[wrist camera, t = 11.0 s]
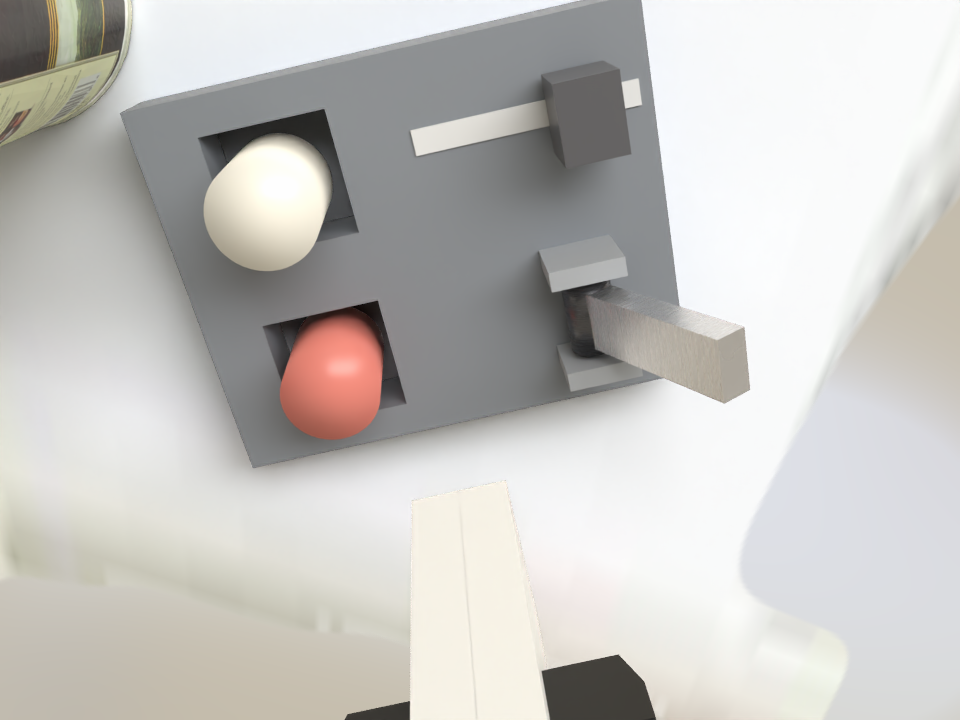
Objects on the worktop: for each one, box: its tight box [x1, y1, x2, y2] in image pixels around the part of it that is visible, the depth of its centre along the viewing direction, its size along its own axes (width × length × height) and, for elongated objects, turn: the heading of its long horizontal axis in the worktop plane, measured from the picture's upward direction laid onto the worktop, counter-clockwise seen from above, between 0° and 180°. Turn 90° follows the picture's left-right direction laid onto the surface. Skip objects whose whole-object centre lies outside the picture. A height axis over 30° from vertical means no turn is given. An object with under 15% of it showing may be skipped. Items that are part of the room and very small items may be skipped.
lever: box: [561, 280, 750, 404], centre depth 33 cm, size 2×3×9 cm, turn 11°
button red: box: [280, 307, 384, 440], centre depth 38 cm, size 4×4×5 cm
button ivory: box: [204, 133, 333, 271], centre depth 33 cm, size 4×4×5 cm
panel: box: [120, 0, 679, 468], centre depth 36 cm, size 20×16×6 cm
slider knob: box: [541, 60, 631, 169], centre depth 32 cm, size 2×3×3 cm
